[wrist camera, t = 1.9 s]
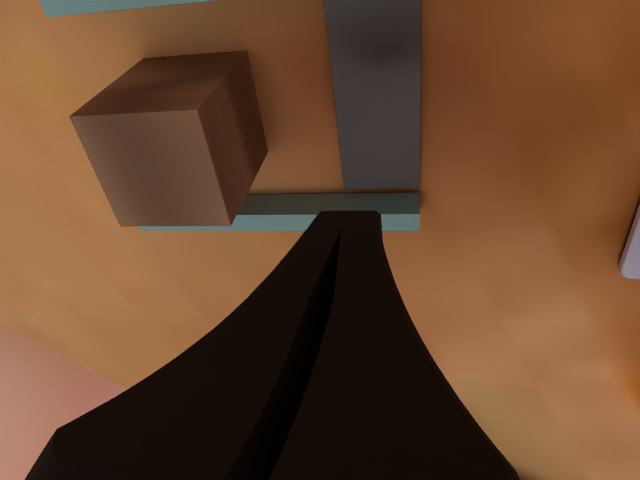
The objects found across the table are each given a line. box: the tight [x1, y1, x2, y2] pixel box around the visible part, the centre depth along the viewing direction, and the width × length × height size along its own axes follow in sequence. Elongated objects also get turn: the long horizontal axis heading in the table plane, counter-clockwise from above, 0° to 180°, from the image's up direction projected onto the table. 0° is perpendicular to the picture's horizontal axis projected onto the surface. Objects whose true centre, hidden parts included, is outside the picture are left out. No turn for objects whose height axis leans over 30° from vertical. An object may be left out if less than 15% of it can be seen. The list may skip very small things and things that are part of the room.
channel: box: [39, 0, 421, 231], centre depth 18 cm, size 12×10×2 cm
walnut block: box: [69, 51, 268, 226], centre depth 17 cm, size 4×4×5 cm
